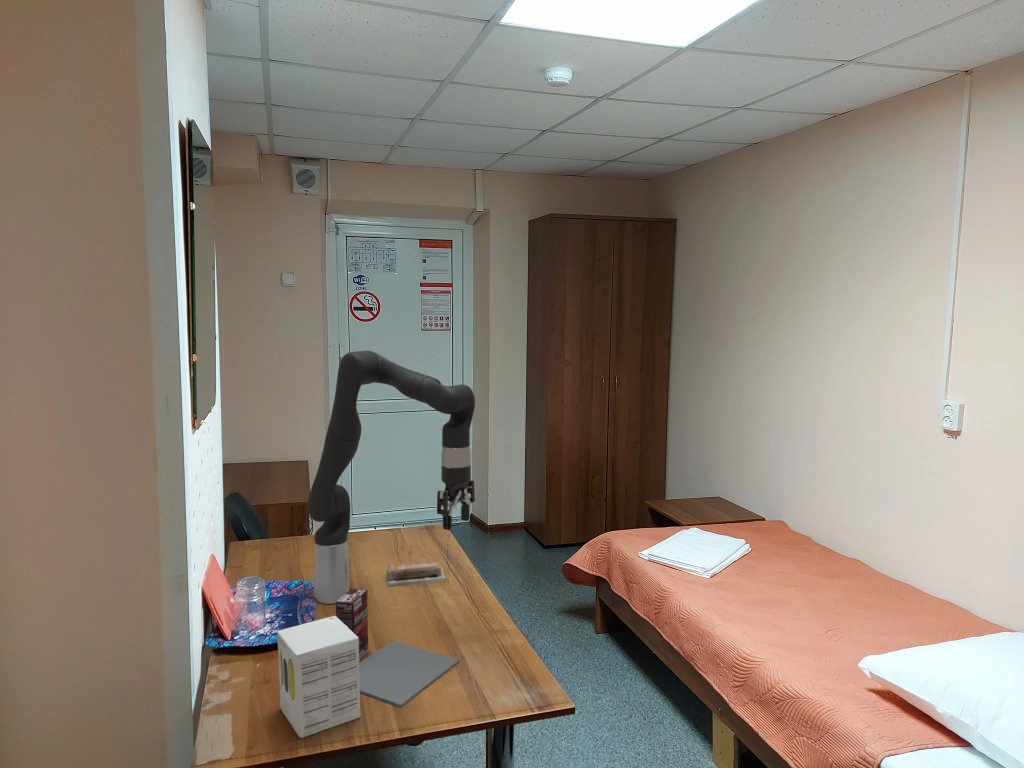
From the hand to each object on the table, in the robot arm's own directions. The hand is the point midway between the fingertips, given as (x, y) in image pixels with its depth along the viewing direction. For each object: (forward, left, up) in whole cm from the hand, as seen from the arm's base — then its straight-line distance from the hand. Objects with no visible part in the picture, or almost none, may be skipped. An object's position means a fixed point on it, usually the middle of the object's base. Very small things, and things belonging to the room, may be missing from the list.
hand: (456, 524), depth 181 cm
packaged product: (-32, +24, -30) cm, 50 cm away
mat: (-1, -24, -29) cm, 38 cm away
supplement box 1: (-4, -45, -29) cm, 54 cm away
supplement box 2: (-14, -24, -29) cm, 40 cm away
